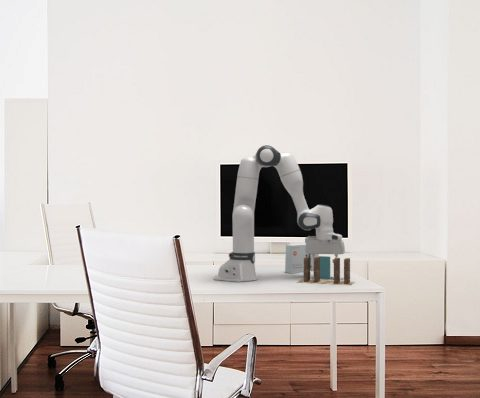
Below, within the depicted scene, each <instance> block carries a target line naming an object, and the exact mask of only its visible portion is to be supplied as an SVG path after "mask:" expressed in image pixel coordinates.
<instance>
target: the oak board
mask: <svg viewBox="0 0 480 398" xmlns="http://www.w3.org/2000/svg"><path fill="white" fill-rule="evenodd" d="M296 283H297V284H311V285H313V284H314V285H316V284H317V285H333V286H352V285H354V283H355V281H350V283H349V284H344V280H340V282H339V283H338V284H334V280H330V279H327V280H326V279H324V280H323V279H320V281H319V282H318V283H314V279H310V281H309V282H304V278H303V279H300V280H298V281H297V282H296Z"/></svg>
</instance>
